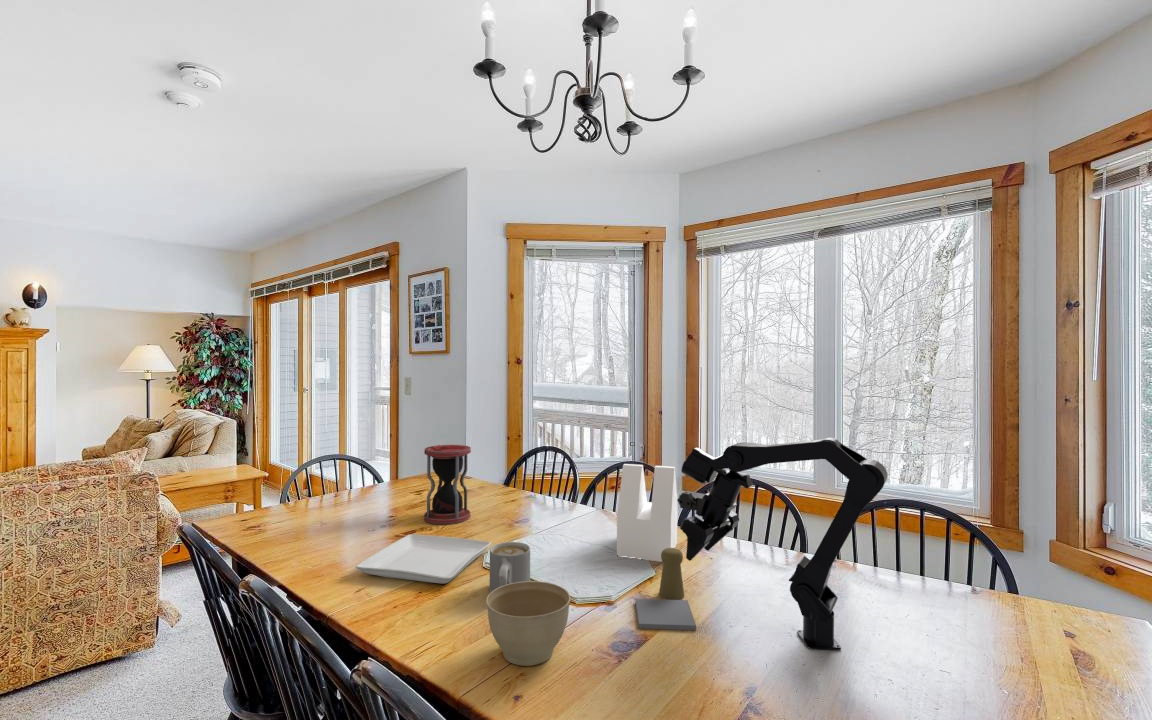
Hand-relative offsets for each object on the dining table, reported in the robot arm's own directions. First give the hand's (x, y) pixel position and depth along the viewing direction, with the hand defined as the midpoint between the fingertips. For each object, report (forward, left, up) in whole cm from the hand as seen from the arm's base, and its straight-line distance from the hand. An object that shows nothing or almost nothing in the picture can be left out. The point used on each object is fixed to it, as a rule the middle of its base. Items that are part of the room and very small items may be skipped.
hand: (697, 554), depth 124 cm
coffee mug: (+5, +45, -12) cm, 47 cm away
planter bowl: (-22, +36, -12) cm, 44 cm away
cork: (+6, +5, -12) cm, 15 cm away
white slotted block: (+38, +8, -13) cm, 41 cm away
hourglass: (+64, +77, -12) cm, 101 cm away
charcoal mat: (-5, +8, -12) cm, 15 cm away
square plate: (+21, +70, -13) cm, 74 cm away
